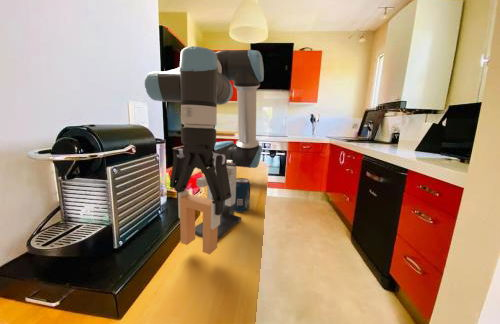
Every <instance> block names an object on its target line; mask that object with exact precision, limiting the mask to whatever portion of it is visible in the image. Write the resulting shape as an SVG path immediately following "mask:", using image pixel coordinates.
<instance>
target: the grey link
mask: <svg viewBox="0 0 500 324" xmlns="http://www.w3.org/2000/svg"><path fill="white" fill-rule="evenodd" d="M214 166H215V163H214ZM226 166H227V165H226ZM208 168H209V167H208ZM215 172H216V168H215ZM227 172H228V178H229V184H230V190H231V198H229V199H227V200H225V205H227V206H232V205H233V204H235V198H236V179H237V172H238V171H237V166H236V167H233V166H227ZM206 188H207V189H206V196H207V197H206V198H207V199H211V200H214V199H213V196H212V194H211V191H210V188H209V186H208V185H207V186H206Z"/></svg>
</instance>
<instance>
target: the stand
mask: <svg viewBox="0 0 500 324" xmlns="http://www.w3.org/2000/svg"><path fill="white" fill-rule="evenodd" d="M226 165H227V166H233V167H237V166H236V163H229V162H228V163H226ZM216 175H217V174H216ZM207 185H208V183H207V181H206V178H205V175H204V176H201V177H199V178H196V187H198V188H199V187H200V188H205V187H207ZM241 221H242V216H238V215H235V211H234V204H233V205H232V206H227V205H225V201H223V213H222V214H220V225H219V226H218V234H217V241H219V239H221V238H222V237H223V236H224V235H225V234H227V233H228V232H229V231H230V230H231V229H233V228H234V227H235V226H236V225H237V224H239V223H240V222H241ZM196 235H197V236H199V237H201V238H203V221H202V222H200V223H199V224H197V225H195V236H196Z"/></svg>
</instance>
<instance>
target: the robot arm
mask: <svg viewBox="0 0 500 324" xmlns="http://www.w3.org/2000/svg"><path fill="white" fill-rule="evenodd" d="M179 58H180V59H179V60H180V61H179V67H177V68H174V69H170V70H166V71H160V70H158V71H150V72H149V73H147V74H146V76H145V79H144V88H145V91H146V93H147V96H148V97H149V98H150V99H151V100H153V101H156V102H163V103H166V102H170V103H180V123H181V124H182V125H183V126H182V127H181V129H180V140H181V141H180V142H181V144H182V145H183V147H180V148H174V149H172V156H173V159H172V160H173V161H172V168H171V174H170V181H169V188H170V189H174V191H175V192H176V202H177V205H178V208H177V209H178V219H180V197H182V196H185V195H187V194H190V193H189V192H190V191H189V190H188V185H189V182H190V179H191V178H192V175H193V174H194V170H195V169H198V170H200V172H201V173H202V174H203V175H204V176H205V178H206V181H207V183H208V186H209V188H210V191H211V194H212V196H213V199H214V200H213V201H211V219H210V229H215V228H216V227H217V226H219V225H220V214H222V213H223V201H225V200H227V199H229V198H231V190H230V184H229V178H228V172H227V166H226V163H227V160H233V163H236V167H239V168H240V167H241V168H249V169H252V168H253V169H256V168H258V167H259V165H260V160H261V156H262V150H263V146H262V145H260V141H258V140H257V90H258V88H260V86H261V82H264V77H265V76H264V74H265V70H264V61H263V56H262V54H261V52H260V51H259V50H254V49H243V50H242V49H239V50H238V49H233V50H230V49H229V50H227V49H224V50H220V51H214V50H212V49H210V48H207V47H204V46H203V47H202V46H194V45H193V46H191V45H190V46H186V47H184V48H183V49H181V51H180V57H179ZM230 81H231V82H232V83H233V85H232V83H231V82H230ZM233 87H234V88H235V89H236V95H237V96H236V98H237V124H238V125H237V126H238V140H236V141H235V143H234V140H226V141H217V129H216V128H215V127H216V126H217V118H218V117H217V112H218V111H217V110H218V109H217V108H218V107H217V105H218V106H219V105H220V106H221V105H225V104H227V103H229V101H230V100H231V99H232V97H233V92H234V89H233ZM214 163H215V166H214ZM208 167H209V168H208ZM215 168H216V172H215ZM216 174H217V175H216Z"/></svg>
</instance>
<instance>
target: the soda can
mask: <svg viewBox="0 0 500 324" xmlns="http://www.w3.org/2000/svg"><path fill="white" fill-rule="evenodd" d="M250 201H251V183H250V179H248V178H245V177H244V178H243V177H240V178H239V177H238V178H237V177H236V198H235V204H234V212H236V213H245V212H247V211H248V210H249V208H250V204H251V203H250Z"/></svg>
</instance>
